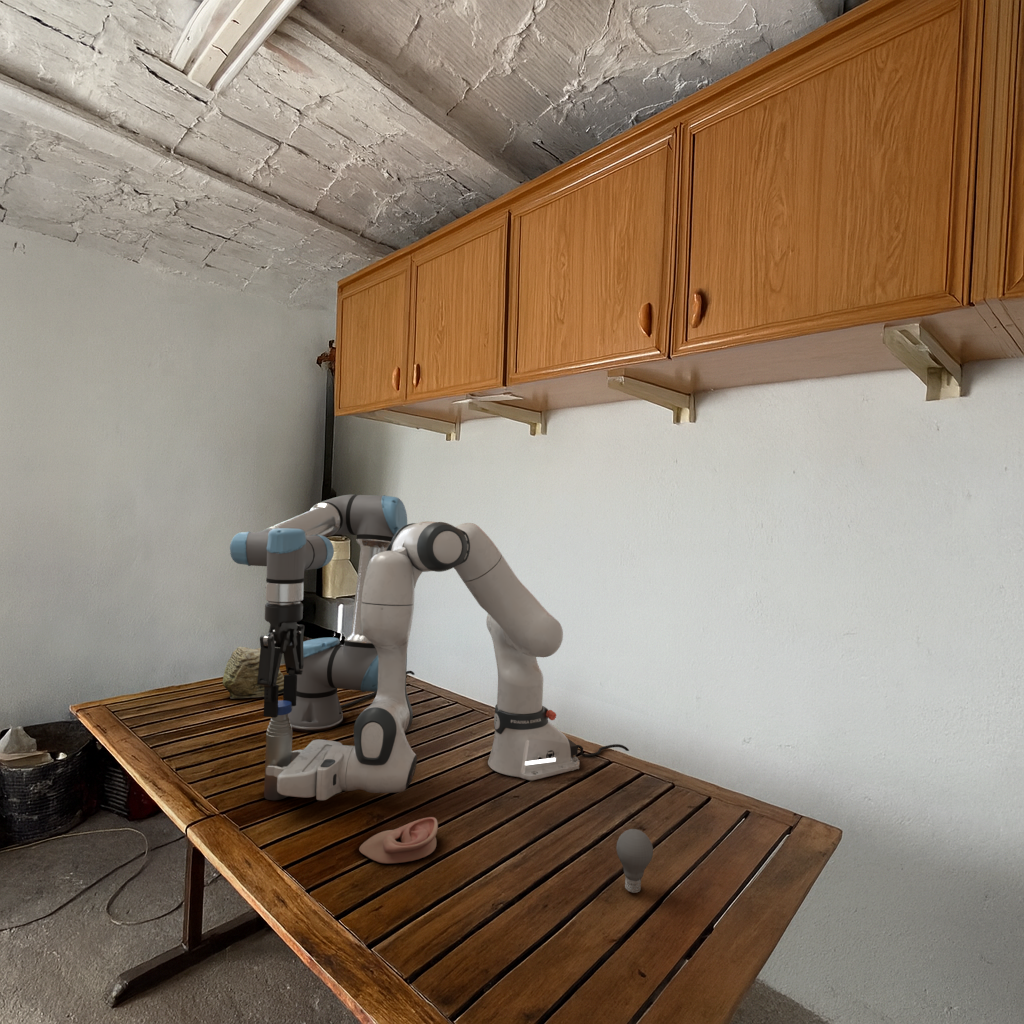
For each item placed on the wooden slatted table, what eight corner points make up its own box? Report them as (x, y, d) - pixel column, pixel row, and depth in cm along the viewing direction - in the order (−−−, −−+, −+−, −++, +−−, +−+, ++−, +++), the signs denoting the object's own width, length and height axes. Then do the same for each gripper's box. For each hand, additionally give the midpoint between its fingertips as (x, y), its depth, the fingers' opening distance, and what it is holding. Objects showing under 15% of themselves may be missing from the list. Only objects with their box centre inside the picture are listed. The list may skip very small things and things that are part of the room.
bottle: (295, 792, 135) (298, 704, 135) (278, 802, 131) (282, 711, 130) (275, 787, 137) (278, 700, 137) (258, 797, 132) (261, 707, 132)
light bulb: (610, 879, 108) (613, 822, 108) (644, 879, 109) (647, 822, 109) (619, 902, 102) (622, 840, 102) (655, 901, 103) (658, 840, 103)
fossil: (218, 695, 195) (220, 647, 195) (278, 685, 208) (279, 640, 207) (228, 703, 189) (230, 653, 188) (289, 692, 201) (290, 645, 201)
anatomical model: (352, 836, 111) (378, 805, 123) (351, 858, 111) (377, 826, 123) (423, 847, 109) (444, 815, 120) (422, 870, 109) (443, 836, 120)
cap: (268, 709, 135) (268, 701, 135) (290, 707, 137) (290, 699, 136) (269, 716, 131) (269, 707, 131) (292, 714, 132) (292, 706, 132)
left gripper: (292, 594, 143) (288, 695, 144) (240, 608, 124) (235, 724, 125) (323, 596, 142) (319, 698, 143) (274, 610, 123) (270, 728, 123)
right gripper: (354, 734, 143) (294, 730, 144) (322, 772, 123) (252, 768, 124) (352, 761, 143) (293, 757, 144) (321, 805, 123) (251, 800, 124)
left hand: (280, 710), depth 134 cm, fingers open, 7 cm apart
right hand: (274, 762), depth 134 cm, fingers closed on bottle, 5 cm apart
